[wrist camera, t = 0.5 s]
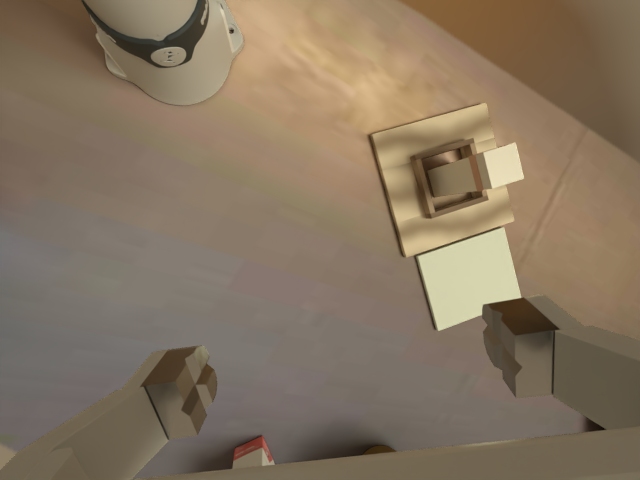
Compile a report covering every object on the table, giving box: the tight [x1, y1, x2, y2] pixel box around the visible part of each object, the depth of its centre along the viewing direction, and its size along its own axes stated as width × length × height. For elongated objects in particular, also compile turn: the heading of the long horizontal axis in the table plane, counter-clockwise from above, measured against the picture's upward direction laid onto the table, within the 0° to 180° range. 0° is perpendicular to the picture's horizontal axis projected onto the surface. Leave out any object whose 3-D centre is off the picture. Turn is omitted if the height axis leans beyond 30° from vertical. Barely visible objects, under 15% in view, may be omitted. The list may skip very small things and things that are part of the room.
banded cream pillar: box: [427, 143, 524, 197], centre depth 47 cm, size 5×5×14 cm
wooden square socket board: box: [370, 103, 514, 257], centre depth 52 cm, size 20×20×3 cm
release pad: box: [416, 227, 521, 331], centre depth 55 cm, size 13×16×1 cm
